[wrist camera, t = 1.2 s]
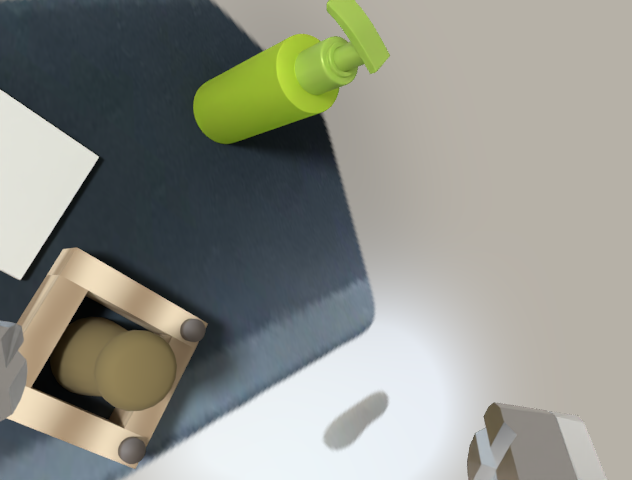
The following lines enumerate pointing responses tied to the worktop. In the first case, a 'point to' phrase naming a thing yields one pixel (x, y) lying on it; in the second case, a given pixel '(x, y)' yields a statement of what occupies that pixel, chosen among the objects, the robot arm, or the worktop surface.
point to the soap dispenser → (288, 79)
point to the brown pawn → (114, 363)
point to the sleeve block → (48, 326)
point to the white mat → (34, 182)
